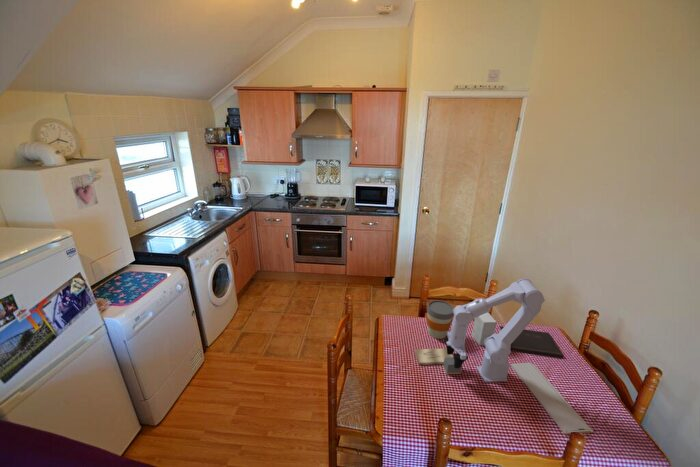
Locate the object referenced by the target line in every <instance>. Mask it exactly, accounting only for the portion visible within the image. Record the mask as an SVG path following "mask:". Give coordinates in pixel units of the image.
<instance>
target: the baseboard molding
mask: <svg viewBox="0 0 700 467" xmlns="http://www.w3.org/2000/svg"><path fill="white" fill-rule="evenodd" d="M509 366H510V367H511V368H512V369H513V371H514V372H515V374H517V376H518V377H519V378H520V379H521V381H522V382H523V383H524V384H525V386H526V387H527V389H528V390H529V391H530V393H532V395H533V396H534V397H535V398H536V400H537V401H538V402H539V404H540V406H542V407H543V408H544V410H545V411H546V412H547V414H548V415H549V416H550V418H551V419H552V420H553V421H554V423H555V424H556V425H557V426H558V428H559V429H560V430H561V431H562V432H563V434H564V435H571V434H570V432H580V433H579V434H589V433H596V432H598V429H597V430H596V429H594V431H593V428H591V427H590V426H589V425H588V424H587V423H586V421H585V420H584V419H583V418H582V417H581V416H580V414H578V412H577V411H575V409H574V408H573V406H571V405H570V403H569V402H568V401H567V400H566V399H565V397H563V395H561V393H560V392H559V391H558V390H557V388H556V387H554V385H553V384H552V383H551V382H550V381H549V379H548V378H547V377H546V376H545V375H544V374H543V373H542V372H541V371H540V369H539V368H538V367H537V366H536V365H535V364H534V363H531V362H521V363H520V362H519V363H509Z"/></svg>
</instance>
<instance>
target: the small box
mask: <svg viewBox="0 0 700 467" xmlns="http://www.w3.org/2000/svg"><path fill="white" fill-rule="evenodd" d="M497 323H498V322H497V320H495V318H494V317H493V316H492V315H491V314H490V313H489V312H487V313H485V314H483V315H480V316H478V317H476V318H474V321H473V327H472V331H471V332H472V333H471V336H472V337H473V339H474V340H475V341H476V343H477V344H478V346H484V341H485V339H486V338H488V337H490V336H492V335H493V334H496V332H495V331H496V329H497Z"/></svg>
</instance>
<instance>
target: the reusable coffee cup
mask: <svg viewBox="0 0 700 467" xmlns="http://www.w3.org/2000/svg"><path fill="white" fill-rule="evenodd" d="M453 309H455V307H454V306H453V305H452V304H451V303H449V302H448V301H445V300H440V299H439V300H438V299H435V300H432V301H429V303H428V304H427V307H426V325H427V333H428V335H429V336H430V337H432V338H434V339H439V340H441V339H444V338H445V337H446V336H447V332H448V331H450V328H451V327H452V323H453V318H454V314H453Z"/></svg>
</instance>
